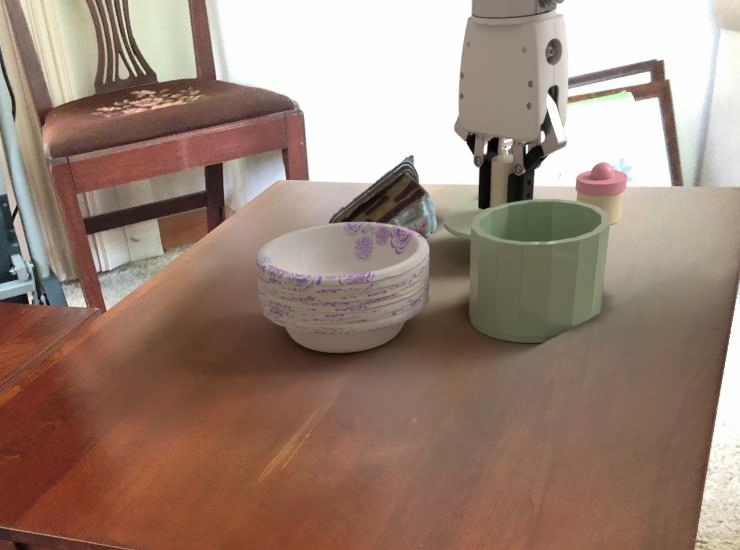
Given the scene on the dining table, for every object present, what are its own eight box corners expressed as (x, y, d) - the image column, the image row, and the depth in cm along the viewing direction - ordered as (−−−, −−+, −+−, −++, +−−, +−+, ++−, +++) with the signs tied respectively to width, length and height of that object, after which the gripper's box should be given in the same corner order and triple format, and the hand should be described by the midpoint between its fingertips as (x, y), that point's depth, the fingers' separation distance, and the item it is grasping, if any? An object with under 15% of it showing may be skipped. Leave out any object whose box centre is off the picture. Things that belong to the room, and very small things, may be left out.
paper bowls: (443, 301, 91) (444, 216, 86) (410, 374, 80) (408, 281, 75) (292, 297, 96) (284, 216, 91) (241, 365, 85) (229, 277, 80)
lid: (585, 236, 94) (592, 165, 90) (463, 255, 93) (465, 185, 89) (539, 200, 104) (544, 134, 100) (428, 217, 103) (428, 151, 99)
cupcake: (632, 216, 104) (639, 159, 100) (602, 230, 102) (608, 172, 98) (592, 207, 107) (597, 153, 104) (562, 221, 105) (567, 165, 101)
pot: (620, 330, 83) (633, 231, 77) (493, 351, 82) (497, 253, 77) (569, 283, 92) (577, 191, 86) (454, 302, 91) (455, 211, 86)
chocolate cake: (352, 263, 103) (429, 169, 98) (320, 228, 106) (393, 136, 102) (398, 298, 110) (472, 212, 105) (367, 264, 114) (437, 180, 109)
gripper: (617, -5, 82) (594, 213, 94) (473, -12, 93) (469, 186, 104) (561, 11, 79) (545, 236, 91) (419, 2, 89) (420, 205, 101)
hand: (504, 207), depth 97 cm, fingers closed on lid, 3 cm apart
